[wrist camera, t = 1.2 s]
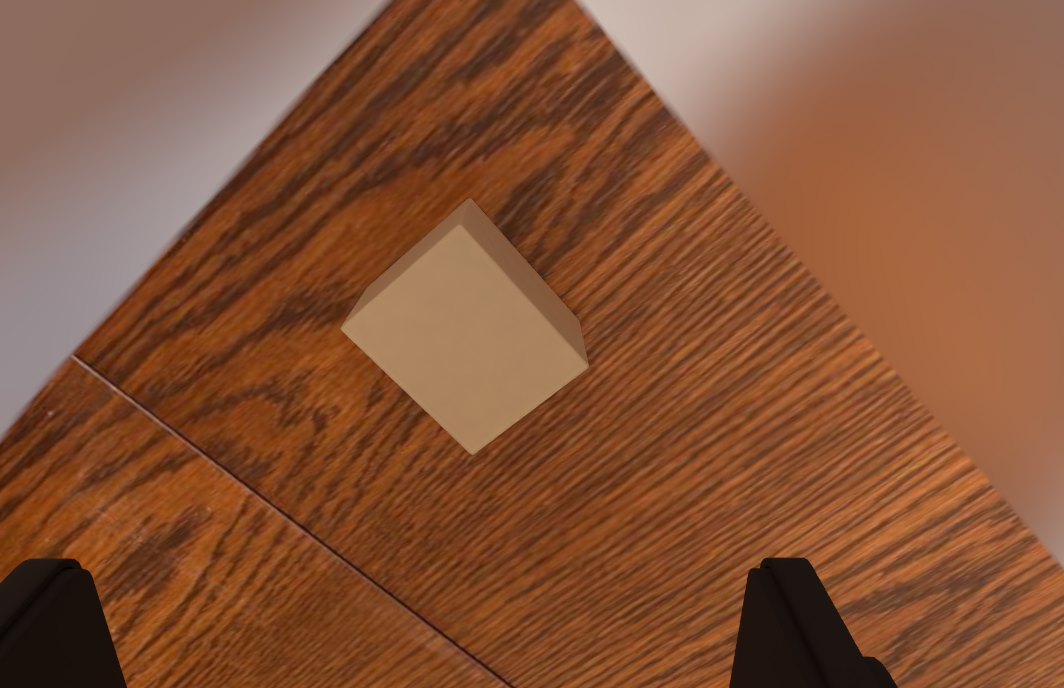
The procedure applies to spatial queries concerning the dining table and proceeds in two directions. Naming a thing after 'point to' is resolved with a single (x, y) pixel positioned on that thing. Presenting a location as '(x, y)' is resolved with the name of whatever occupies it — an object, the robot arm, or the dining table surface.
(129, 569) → the dining table surface
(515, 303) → the plain tan block
